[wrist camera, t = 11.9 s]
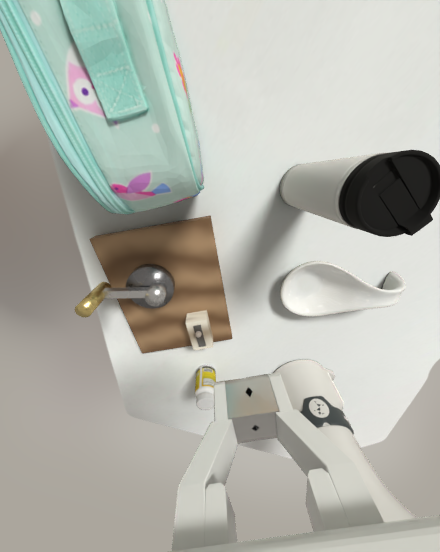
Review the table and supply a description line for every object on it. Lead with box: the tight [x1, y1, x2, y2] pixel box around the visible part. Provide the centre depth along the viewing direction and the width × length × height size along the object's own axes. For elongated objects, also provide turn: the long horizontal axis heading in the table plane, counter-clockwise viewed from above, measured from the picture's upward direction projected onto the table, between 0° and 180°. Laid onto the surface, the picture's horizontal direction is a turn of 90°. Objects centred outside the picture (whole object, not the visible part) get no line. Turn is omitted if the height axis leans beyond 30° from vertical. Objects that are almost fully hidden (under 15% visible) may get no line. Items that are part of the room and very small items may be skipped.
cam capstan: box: [75, 264, 175, 317], centre depth 33 cm, size 13×8×8 cm, turn 90°
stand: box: [90, 216, 232, 353], centre depth 37 cm, size 26×20×6 cm
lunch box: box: [0, 0, 204, 214], centre depth 17 cm, size 27×10×21 cm, turn 15°
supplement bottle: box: [195, 365, 216, 410], centre depth 47 cm, size 5×5×8 cm
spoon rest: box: [280, 261, 406, 316], centre depth 38 cm, size 24×12×7 cm, turn 91°
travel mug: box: [280, 150, 440, 237], centre depth 24 cm, size 6×7×20 cm
